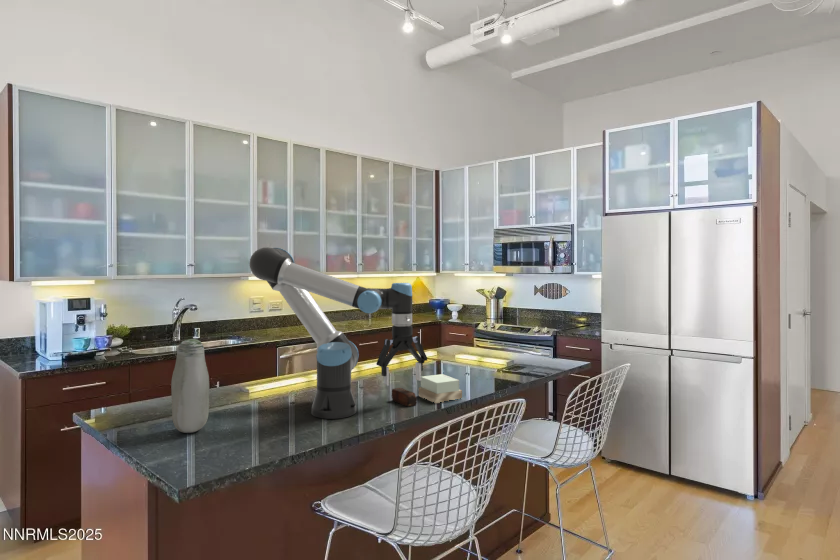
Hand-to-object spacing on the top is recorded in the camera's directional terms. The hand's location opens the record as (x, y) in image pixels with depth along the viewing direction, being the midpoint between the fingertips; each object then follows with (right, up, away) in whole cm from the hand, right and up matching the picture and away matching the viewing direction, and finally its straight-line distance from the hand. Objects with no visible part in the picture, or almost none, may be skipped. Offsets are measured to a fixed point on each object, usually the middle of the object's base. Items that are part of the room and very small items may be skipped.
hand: (402, 382), depth 191 cm
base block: (+14, -8, +9) cm, 19 cm away
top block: (+14, -4, +9) cm, 17 cm away
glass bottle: (-63, -8, -33) cm, 72 cm away
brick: (0, -8, +1) cm, 8 cm away
